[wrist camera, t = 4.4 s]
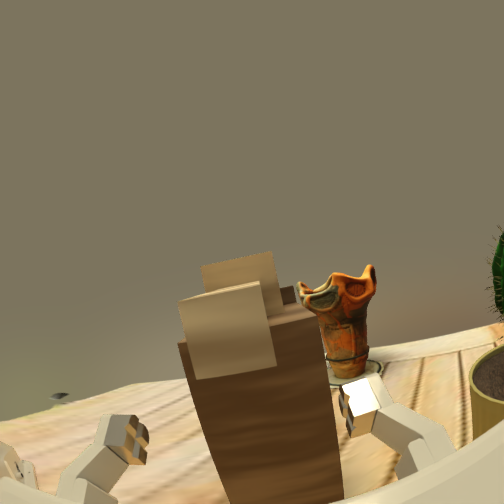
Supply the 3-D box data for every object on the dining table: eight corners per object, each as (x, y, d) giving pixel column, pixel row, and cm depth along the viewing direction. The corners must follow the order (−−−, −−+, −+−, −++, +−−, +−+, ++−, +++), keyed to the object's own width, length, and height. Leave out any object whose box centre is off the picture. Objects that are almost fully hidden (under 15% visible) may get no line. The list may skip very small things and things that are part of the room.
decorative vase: (342, 354, 84) (328, 266, 85) (404, 362, 64) (393, 257, 65) (291, 380, 73) (273, 280, 74) (356, 400, 53) (340, 273, 54)
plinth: (346, 525, 19) (312, 290, 22) (248, 543, 19) (171, 318, 22) (326, 468, 32) (292, 285, 35) (251, 482, 32) (202, 304, 35)
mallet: (317, 356, 11) (288, 216, 12) (159, 383, 11) (130, 251, 12) (280, 306, 33) (269, 255, 34) (221, 318, 33) (210, 268, 34)
